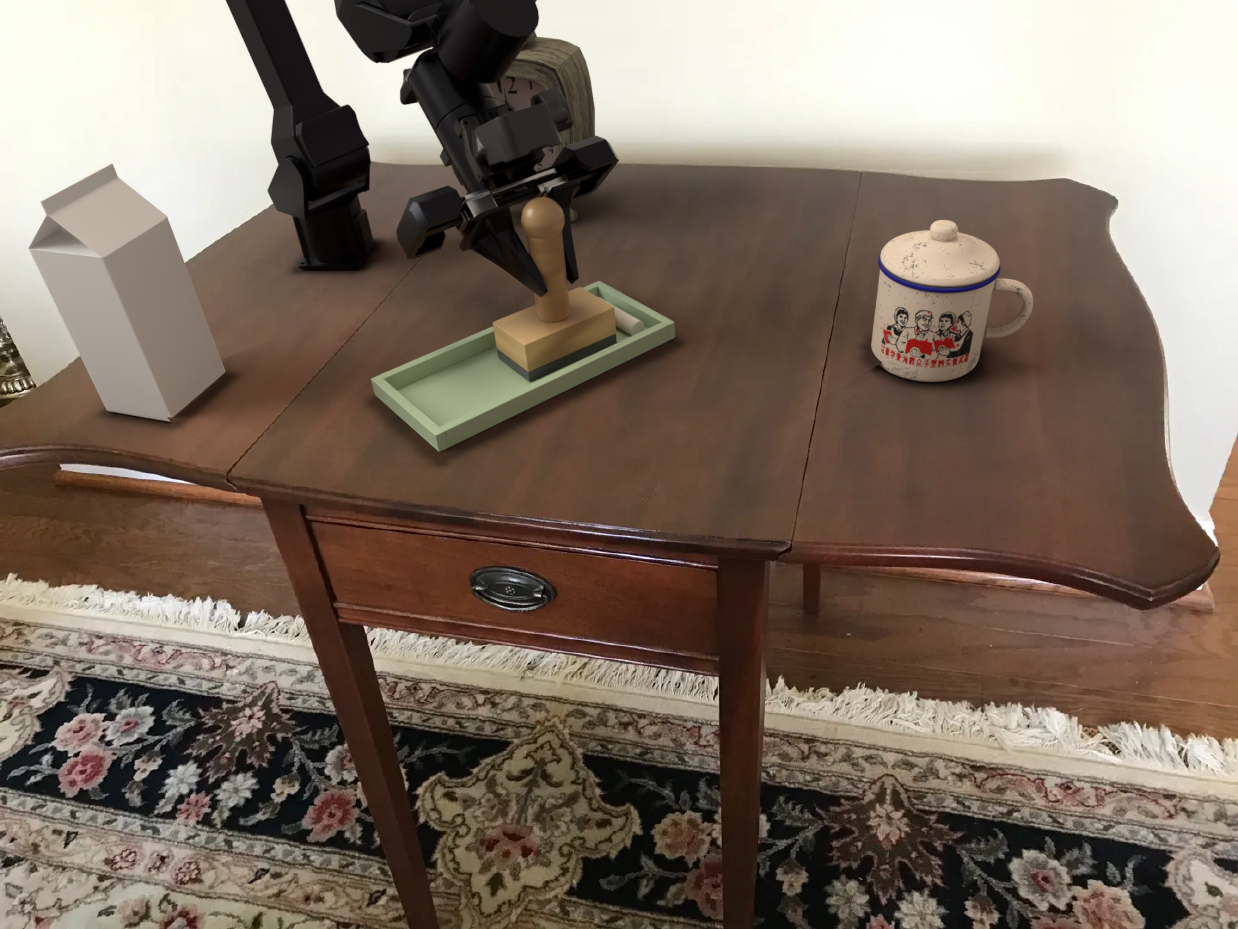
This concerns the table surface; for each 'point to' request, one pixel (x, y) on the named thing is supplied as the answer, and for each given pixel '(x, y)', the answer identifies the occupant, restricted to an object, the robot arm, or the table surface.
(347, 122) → the robot arm
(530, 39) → the tabletop clock
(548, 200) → the wooden rubber stamp
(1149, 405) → the table surface
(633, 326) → the chalk
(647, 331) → the tray
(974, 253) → the teacup with lid
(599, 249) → the table surface
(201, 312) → the milk carton
